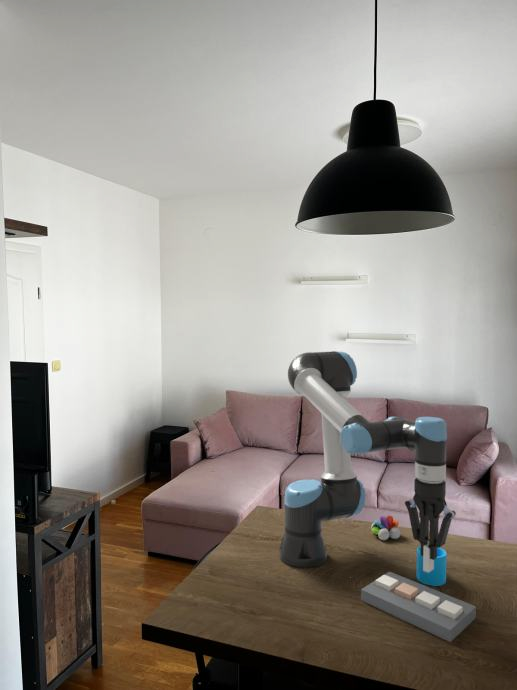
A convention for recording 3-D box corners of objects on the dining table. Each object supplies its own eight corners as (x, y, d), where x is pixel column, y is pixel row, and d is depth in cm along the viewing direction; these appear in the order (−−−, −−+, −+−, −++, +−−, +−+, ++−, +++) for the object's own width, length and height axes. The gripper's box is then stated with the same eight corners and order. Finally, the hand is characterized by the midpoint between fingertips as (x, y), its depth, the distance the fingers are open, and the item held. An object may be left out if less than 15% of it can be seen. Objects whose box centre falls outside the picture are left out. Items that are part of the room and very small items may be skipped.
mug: (447, 587, 147) (447, 559, 146) (417, 583, 149) (417, 555, 148) (443, 567, 158) (444, 541, 158) (415, 564, 160) (415, 538, 160)
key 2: (394, 599, 138) (394, 588, 138) (403, 593, 141) (403, 582, 141) (409, 606, 135) (409, 594, 135) (418, 599, 138) (418, 588, 138)
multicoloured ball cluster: (404, 540, 178) (404, 519, 177) (377, 542, 175) (378, 521, 175) (392, 530, 186) (393, 510, 185) (367, 532, 184) (367, 512, 183)
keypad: (360, 600, 140) (361, 589, 140) (389, 581, 150) (389, 571, 150) (450, 642, 122) (450, 630, 122) (475, 618, 132) (476, 606, 132)
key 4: (437, 618, 130) (437, 606, 129) (445, 611, 133) (445, 600, 132) (454, 626, 126) (454, 614, 126) (462, 618, 129) (462, 606, 129)
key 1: (375, 590, 142) (375, 580, 142) (384, 584, 145) (384, 574, 145) (389, 597, 139) (389, 586, 139) (398, 590, 142) (398, 580, 142)
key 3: (415, 608, 134) (415, 597, 134) (423, 602, 137) (423, 590, 137) (431, 615, 131) (431, 604, 130) (439, 608, 134) (439, 597, 134)
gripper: (399, 476, 134) (397, 566, 135) (447, 488, 124) (445, 584, 126) (414, 470, 139) (412, 556, 140) (461, 481, 130) (459, 573, 131)
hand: (428, 569), depth 133 cm, fingers closed
